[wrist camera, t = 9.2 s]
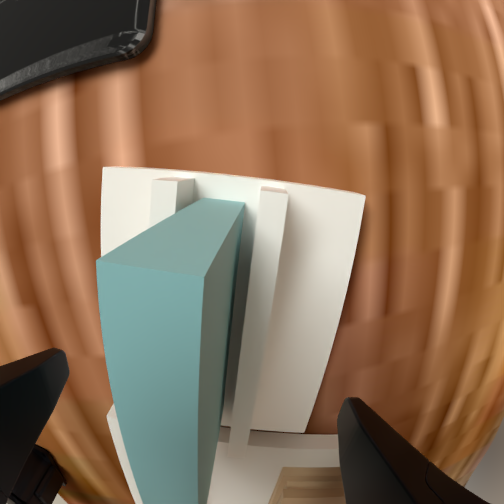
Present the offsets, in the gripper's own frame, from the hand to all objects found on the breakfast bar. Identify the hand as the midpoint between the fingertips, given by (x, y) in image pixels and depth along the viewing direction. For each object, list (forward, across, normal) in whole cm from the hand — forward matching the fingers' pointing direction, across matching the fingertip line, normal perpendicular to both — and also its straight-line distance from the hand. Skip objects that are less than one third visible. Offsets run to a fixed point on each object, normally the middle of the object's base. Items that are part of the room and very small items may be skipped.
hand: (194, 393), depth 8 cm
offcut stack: (+4, -7, +14) cm, 16 cm away
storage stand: (+5, 0, 0) cm, 5 cm away
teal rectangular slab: (+4, 0, 0) cm, 4 cm away
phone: (+6, +12, -14) cm, 19 cm away
